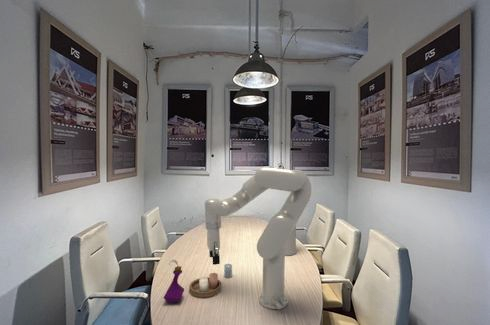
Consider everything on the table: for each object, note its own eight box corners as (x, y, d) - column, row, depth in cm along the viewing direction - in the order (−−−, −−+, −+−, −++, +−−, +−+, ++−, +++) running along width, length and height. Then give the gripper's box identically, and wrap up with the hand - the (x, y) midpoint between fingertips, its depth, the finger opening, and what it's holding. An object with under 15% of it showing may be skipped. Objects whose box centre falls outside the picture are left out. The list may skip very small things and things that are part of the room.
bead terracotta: (209, 289, 122) (209, 277, 121) (208, 285, 125) (208, 273, 125) (218, 288, 123) (218, 276, 123) (216, 284, 127) (216, 272, 126)
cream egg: (208, 293, 118) (208, 280, 118) (199, 295, 117) (199, 281, 117) (207, 289, 122) (207, 276, 122) (198, 290, 121) (198, 278, 121)
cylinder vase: (295, 256, 164) (295, 217, 164) (276, 255, 167) (276, 217, 166) (295, 249, 177) (296, 213, 176) (277, 248, 179) (277, 213, 179)
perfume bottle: (184, 295, 118) (184, 256, 117) (181, 305, 110) (180, 263, 110) (168, 296, 117) (167, 257, 117) (163, 305, 110) (163, 263, 110)
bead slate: (232, 277, 136) (232, 266, 136) (225, 278, 134) (225, 267, 134) (230, 274, 139) (230, 263, 139) (223, 275, 138) (223, 264, 138)
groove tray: (223, 295, 118) (223, 290, 118) (190, 300, 114) (190, 295, 114) (218, 280, 132) (218, 275, 132) (188, 284, 128) (188, 279, 128)
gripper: (203, 221, 131) (204, 255, 131) (208, 230, 114) (209, 268, 114) (217, 220, 133) (218, 253, 133) (224, 228, 116) (225, 266, 116)
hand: (214, 260), depth 124 cm, fingers open, 9 cm apart
